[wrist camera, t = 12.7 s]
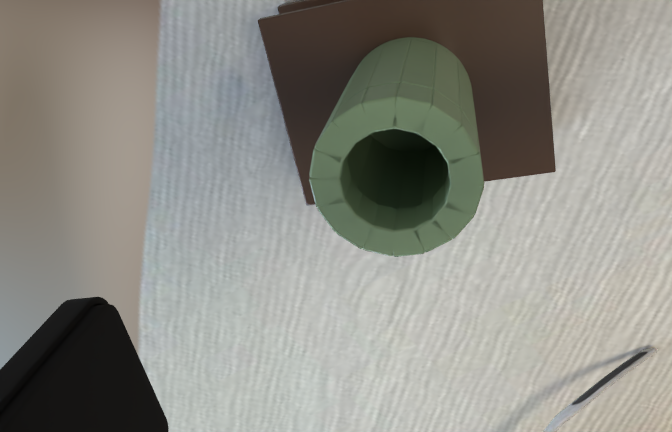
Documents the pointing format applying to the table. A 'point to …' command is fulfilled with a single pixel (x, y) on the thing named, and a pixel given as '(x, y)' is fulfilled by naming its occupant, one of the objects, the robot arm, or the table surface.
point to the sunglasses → (598, 389)
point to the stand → (432, 24)
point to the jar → (400, 151)
